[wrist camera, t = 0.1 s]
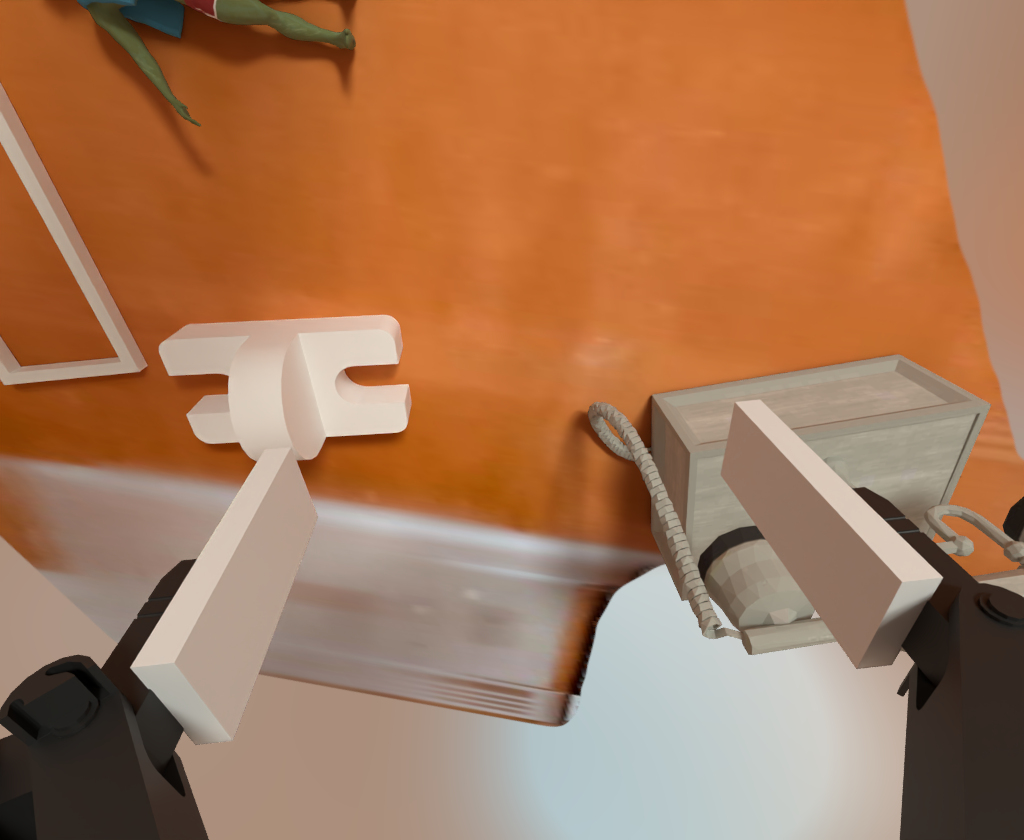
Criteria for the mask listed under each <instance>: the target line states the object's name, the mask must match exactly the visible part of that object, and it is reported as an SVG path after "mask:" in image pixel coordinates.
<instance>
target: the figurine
mask: <svg viewBox="0 0 1024 840" xmlns="http://www.w3.org/2000/svg"><path fill="white" fill-rule="evenodd" d="M77 1H78V3H79V4H80V5H82V6H83V7H84V8H86V9H87V10H89V12H90V14H91V15H92V17H93V19H94V20H95V22H96V23H97V24H98V25H99V26H101V27H102V28H103V29H105V30H106V31H107V32H108V33H109V34H110V35H111V36H112V37H113V38H114V40H115V41H117V42H118V43H119V44H120V45H121V46H122V47H123V48H124V49H125V50H126V51H127V52H128V53H129V54H130V55H131V57H132V58H133V60H134V61H135V62H136V64H137V65H138V66H139V68H140V69H141V70H142V71H143V72H144V74H145V75H146V76H147V77H148V78H149V79H150V80H151V82H152V83H153V84H154V85H155V86H156V87H157V88H158V90H159V91H160V92H161V93H162V94H163V96H164V97H165V98H166V99H167V100H168V101H169V102H170V103H171V104H172V105H173V106H174V108H175V109H176V111H177V112H178V113H179V114H180V115H181V116H182V117H183V118H184V119H186V120H188V121H190V122H191V123H193V124H195V125H197V126H201V124H199V123H198V122H197V121H195V120H193V119H192V118H191V117H190V115H189V113H188V111H187V110H186V108H187V106H185V105H184V104H182V103H181V102H180V101H179V100H177V99H176V97H175V96H174V95H173V94H172V92H171V90H170V88H169V86H168V84H167V81H166V80H165V78H164V76H163V73H162V71H161V69H160V67H159V65H158V64H157V62H156V60H155V59H154V58H153V56H152V55H151V54H150V53H149V51H148V50H147V48H146V46H145V44H144V43H143V41H142V39H141V38H140V36H139V35H138V33H137V32H136V31H135V29H134V28H133V27H132V25H131V24H130V23H129V22H128V21H127V19H126V18H128V19H131V20H133V21H135V22H139V23H143V24H146V25H149V26H151V27H153V28H155V29H158V30H160V31H162V32H164V33H166V34H169V35H172V36H175V37H178V38H181V33H182V27H183V17H184V7H183V6H182V5H181V4H180V3H183V4H185V5H187V6H189V7H191V8H193V9H194V10H196V11H198V12H201V13H203V14H205V15H207V16H210V17H212V18H215V19H217V20H219V21H221V22H225V23H229V24H236V25H268V26H270V27H272V28H274V29H276V30H277V31H278V32H280V33H281V34H283V35H284V36H286V37H288V38H291V39H294V40H301V41H317V42H326V43H330V44H333V45H335V46H337V47H339V48H347V49H349V50H353V49H354V47H355V46H356V43H355V39H354V36H353V35H352V34H351V32H350V30H349V29H344V31H343V32H337V33H336V32H333V31H329V30H325V29H321V28H319V27H317V26H315V25H313V24H310V23H308V22H306V21H305V20H303V19H302V18H300V17H298V16H296V15H294V14H290V13H286V12H281V11H276V10H274V9H272V8H270V7H268V6H267V5H265V4H263V3H261V2H260V1H258V0H77ZM179 2H180V3H179ZM187 109H188V108H187Z"/></svg>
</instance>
